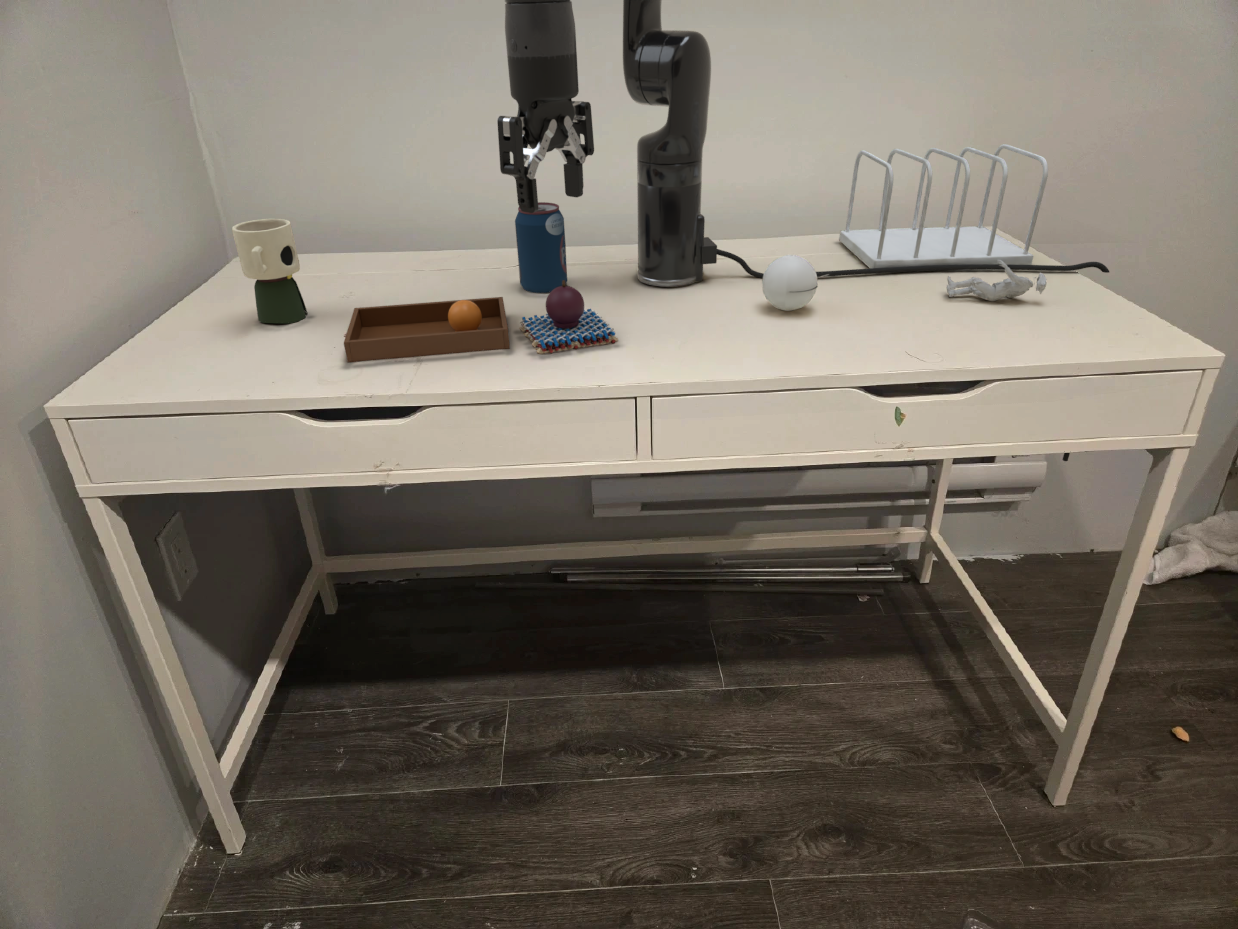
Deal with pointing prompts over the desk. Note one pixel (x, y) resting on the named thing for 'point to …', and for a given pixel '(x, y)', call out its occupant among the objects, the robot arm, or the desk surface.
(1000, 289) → the soldier figure
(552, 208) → the soda can
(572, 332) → the woven mat
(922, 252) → the file sorter
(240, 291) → the desk surface
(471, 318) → the apricot
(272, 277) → the character mug
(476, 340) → the tray
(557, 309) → the plum
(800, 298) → the seamed sphere
